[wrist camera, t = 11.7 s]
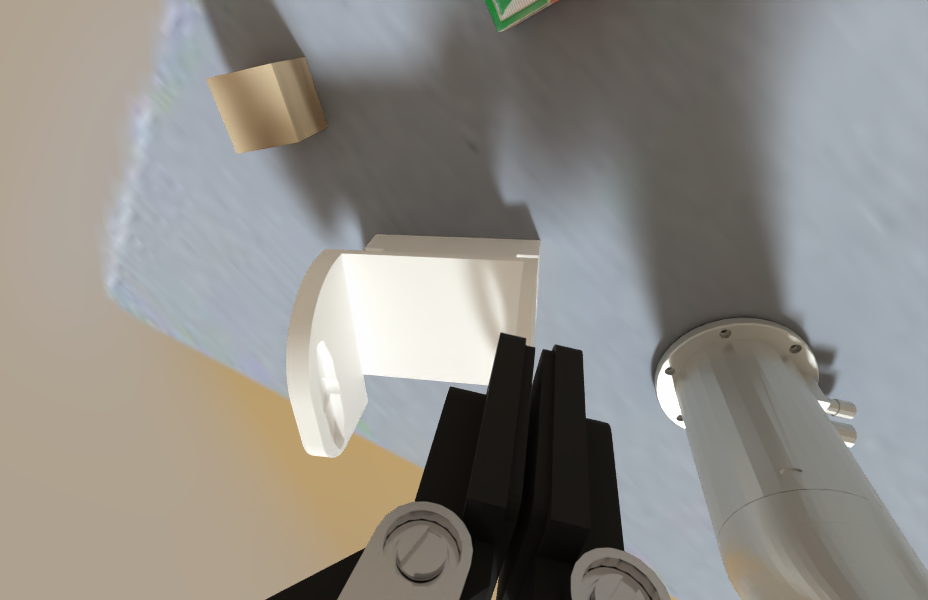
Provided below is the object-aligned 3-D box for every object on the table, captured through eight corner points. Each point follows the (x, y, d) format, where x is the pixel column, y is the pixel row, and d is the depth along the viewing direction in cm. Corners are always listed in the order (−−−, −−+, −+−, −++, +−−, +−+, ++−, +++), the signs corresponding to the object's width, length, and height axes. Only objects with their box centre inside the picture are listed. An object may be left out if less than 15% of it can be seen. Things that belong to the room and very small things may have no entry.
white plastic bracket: (543, 207, 38) (529, 341, 23) (537, 343, 45) (522, 516, 30) (370, 203, 41) (253, 321, 25) (388, 332, 47) (303, 488, 32)
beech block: (305, 56, 36) (270, 63, 32) (328, 127, 38) (298, 142, 34) (246, 70, 37) (205, 78, 33) (272, 137, 39) (236, 153, 35)
